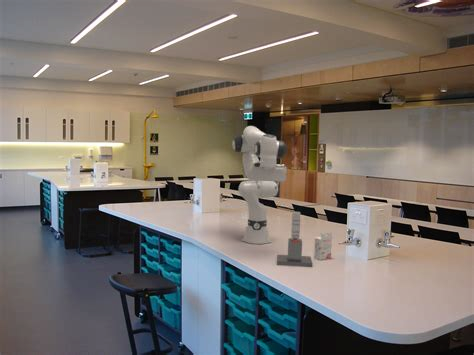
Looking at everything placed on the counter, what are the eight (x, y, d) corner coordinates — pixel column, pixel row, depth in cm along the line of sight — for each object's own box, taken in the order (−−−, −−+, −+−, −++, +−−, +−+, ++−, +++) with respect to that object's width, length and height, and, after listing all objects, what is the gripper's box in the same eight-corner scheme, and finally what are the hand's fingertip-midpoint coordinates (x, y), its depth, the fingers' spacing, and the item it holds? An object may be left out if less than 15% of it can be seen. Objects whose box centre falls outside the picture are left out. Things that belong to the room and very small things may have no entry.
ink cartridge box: (324, 256, 240) (326, 230, 239) (331, 258, 236) (332, 232, 235) (313, 258, 236) (314, 231, 235) (319, 260, 232) (321, 233, 230)
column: (290, 244, 227) (292, 211, 226) (298, 245, 227) (300, 211, 225) (290, 246, 223) (292, 212, 221) (299, 247, 223) (300, 213, 221)
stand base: (277, 258, 233) (278, 234, 232) (310, 260, 231) (311, 236, 230) (277, 264, 220) (278, 240, 219) (312, 266, 218) (313, 242, 217)
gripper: (287, 164, 236) (286, 189, 237) (250, 163, 238) (249, 187, 239) (287, 165, 230) (286, 190, 231) (249, 163, 232) (248, 189, 233)
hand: (267, 189), depth 235 cm, fingers open, 8 cm apart
